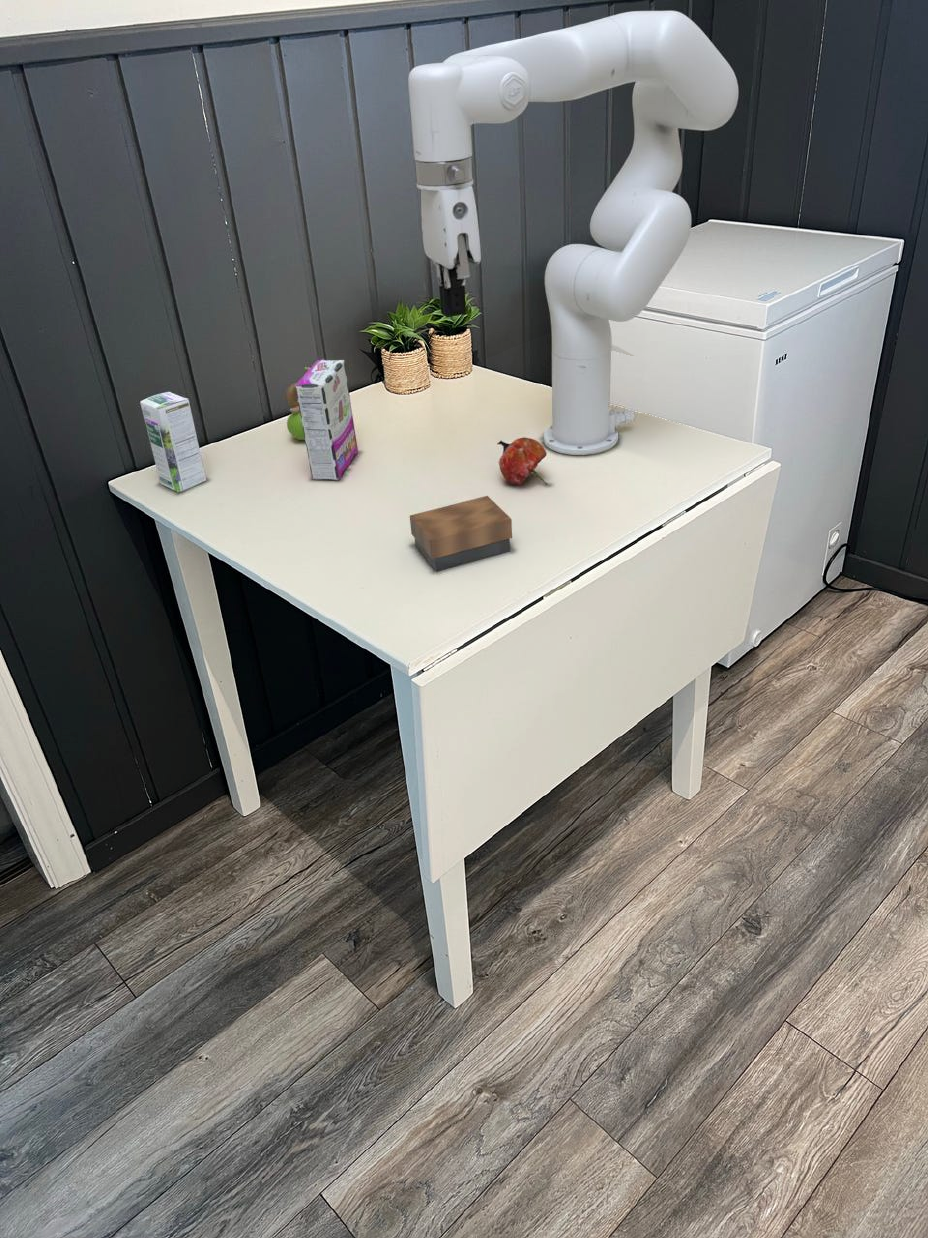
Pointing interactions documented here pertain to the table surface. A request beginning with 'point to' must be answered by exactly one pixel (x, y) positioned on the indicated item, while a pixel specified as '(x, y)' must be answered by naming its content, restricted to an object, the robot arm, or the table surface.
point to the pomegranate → (520, 459)
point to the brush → (461, 532)
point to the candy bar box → (327, 419)
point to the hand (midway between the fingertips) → (453, 313)
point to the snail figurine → (294, 413)
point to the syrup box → (173, 441)
